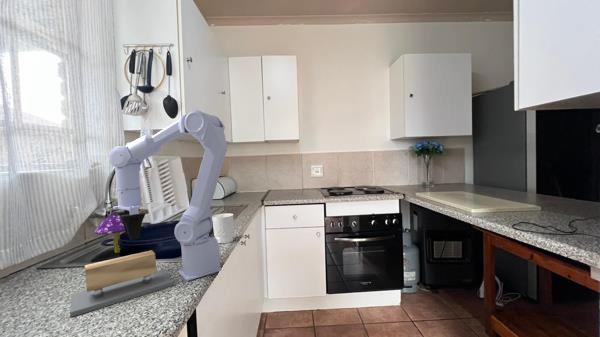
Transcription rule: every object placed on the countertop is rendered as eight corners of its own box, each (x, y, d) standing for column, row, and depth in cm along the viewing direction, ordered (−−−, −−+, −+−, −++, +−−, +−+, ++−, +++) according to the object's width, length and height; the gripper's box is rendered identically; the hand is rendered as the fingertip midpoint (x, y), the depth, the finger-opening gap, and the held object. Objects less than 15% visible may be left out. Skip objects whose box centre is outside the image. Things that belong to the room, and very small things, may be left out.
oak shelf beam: (86, 286, 64) (84, 265, 64) (153, 268, 73) (151, 250, 73) (86, 292, 61) (85, 270, 61) (156, 273, 70) (155, 253, 70)
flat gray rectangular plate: (163, 272, 78) (162, 262, 78) (173, 285, 69) (173, 273, 69) (71, 298, 65) (70, 285, 65) (70, 317, 57) (69, 303, 56)
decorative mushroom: (142, 252, 98) (138, 210, 97) (98, 262, 89) (95, 216, 89) (133, 245, 107) (130, 207, 106) (93, 254, 98) (90, 212, 98)
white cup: (210, 241, 106) (208, 216, 105) (228, 237, 111) (227, 212, 111) (219, 245, 100) (217, 218, 100) (238, 240, 105) (237, 214, 105)
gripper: (109, 189, 81) (113, 235, 82) (114, 192, 70) (118, 245, 70) (137, 187, 86) (140, 230, 86) (145, 189, 74) (149, 239, 75)
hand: (132, 236), depth 79 cm, fingers open, 7 cm apart
